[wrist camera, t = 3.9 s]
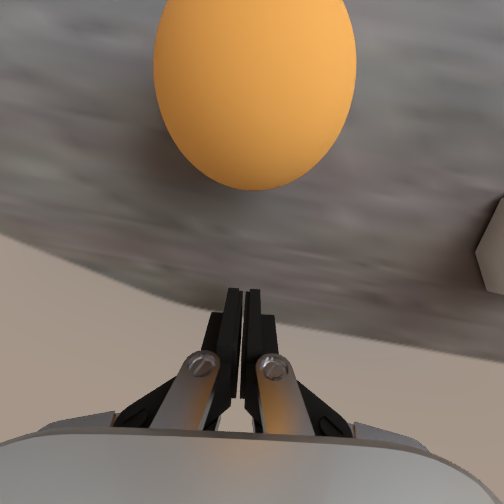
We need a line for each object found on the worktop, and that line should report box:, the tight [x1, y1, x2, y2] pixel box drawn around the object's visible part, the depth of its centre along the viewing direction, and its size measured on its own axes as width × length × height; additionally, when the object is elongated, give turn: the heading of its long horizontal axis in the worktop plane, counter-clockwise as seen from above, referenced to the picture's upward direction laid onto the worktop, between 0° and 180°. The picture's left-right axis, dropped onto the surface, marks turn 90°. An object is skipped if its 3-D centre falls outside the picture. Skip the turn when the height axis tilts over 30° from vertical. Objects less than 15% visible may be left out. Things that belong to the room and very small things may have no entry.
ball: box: [153, 0, 356, 191], centre depth 7 cm, size 6×6×6 cm
